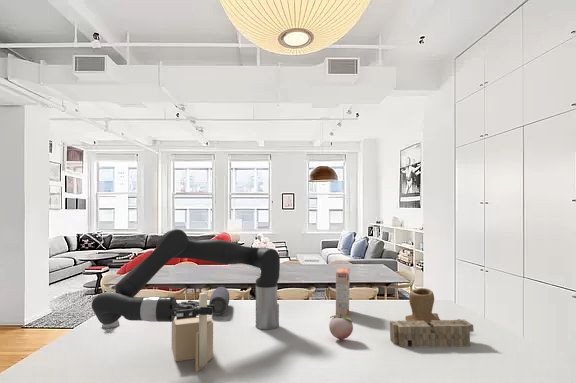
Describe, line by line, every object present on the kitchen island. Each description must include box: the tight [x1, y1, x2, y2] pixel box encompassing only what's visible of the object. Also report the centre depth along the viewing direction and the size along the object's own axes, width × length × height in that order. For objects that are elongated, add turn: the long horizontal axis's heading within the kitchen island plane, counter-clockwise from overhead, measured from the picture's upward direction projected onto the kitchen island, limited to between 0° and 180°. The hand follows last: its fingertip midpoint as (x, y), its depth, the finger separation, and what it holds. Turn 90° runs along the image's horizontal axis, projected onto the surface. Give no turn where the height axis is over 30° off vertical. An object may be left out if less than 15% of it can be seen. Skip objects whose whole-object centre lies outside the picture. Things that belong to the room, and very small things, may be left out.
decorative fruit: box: [328, 314, 354, 341], centre depth 150 cm, size 9×8×10 cm
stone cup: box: [404, 287, 441, 325], centre depth 172 cm, size 15×12×15 cm
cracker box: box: [335, 267, 350, 318], centre depth 187 cm, size 14×6×21 cm, turn 168°
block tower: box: [389, 319, 475, 348], centre depth 147 cm, size 8×8×29 cm
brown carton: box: [171, 315, 213, 362], centre depth 138 cm, size 12×14×12 cm
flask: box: [101, 319, 121, 329], centre depth 168 cm, size 7×7×10 cm
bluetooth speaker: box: [208, 286, 230, 315], centre depth 193 cm, size 23×9×10 cm, turn 6°
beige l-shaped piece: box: [195, 292, 214, 373], centre depth 127 cm, size 12×3×24 cm, turn 169°
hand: (213, 309), depth 122 cm, fingers closed on beige l-shaped piece, 2 cm apart
